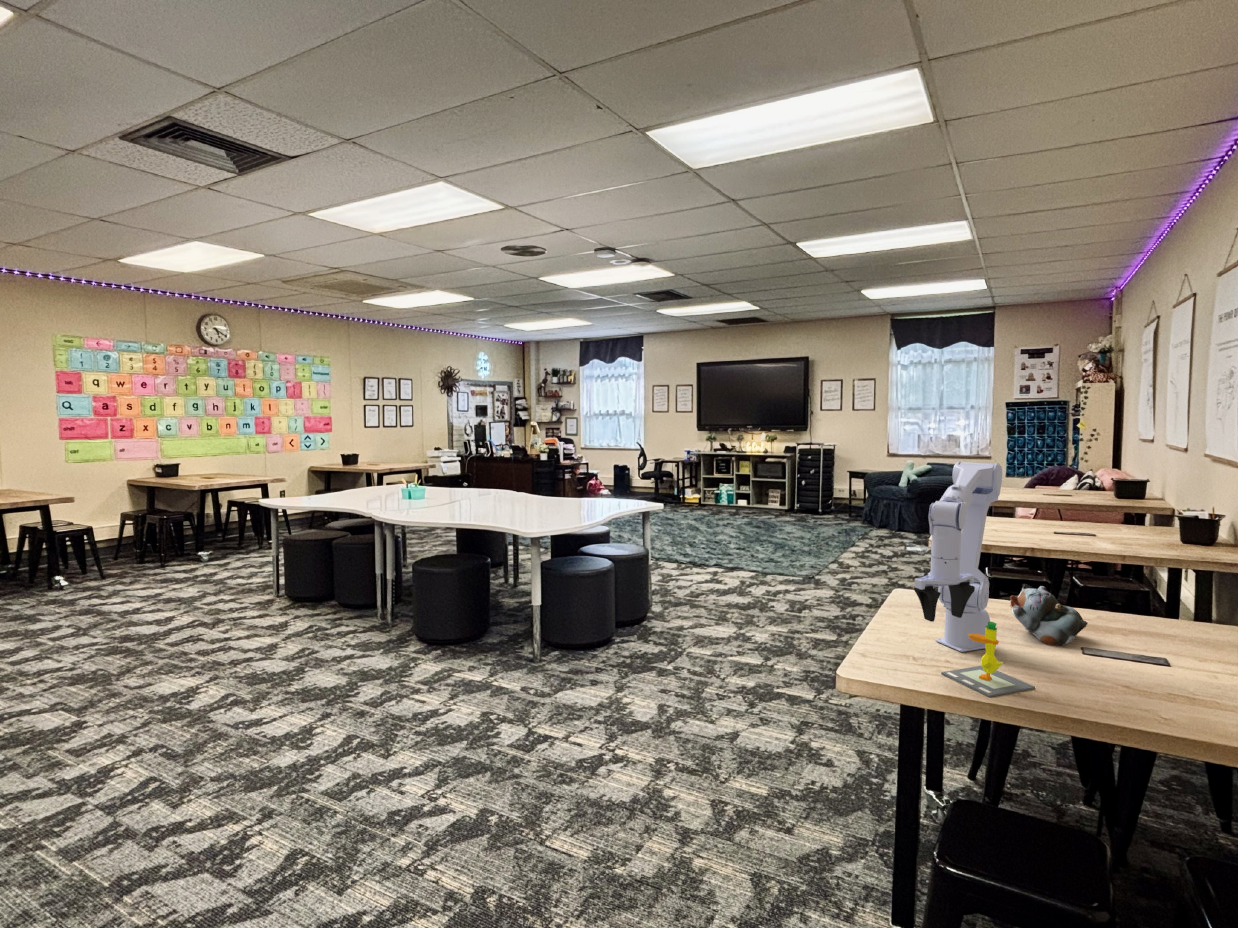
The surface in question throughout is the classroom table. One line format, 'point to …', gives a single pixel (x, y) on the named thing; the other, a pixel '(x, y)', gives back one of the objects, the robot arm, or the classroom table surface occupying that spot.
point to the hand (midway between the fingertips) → (943, 618)
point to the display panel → (989, 688)
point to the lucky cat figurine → (1046, 616)
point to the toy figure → (988, 650)
